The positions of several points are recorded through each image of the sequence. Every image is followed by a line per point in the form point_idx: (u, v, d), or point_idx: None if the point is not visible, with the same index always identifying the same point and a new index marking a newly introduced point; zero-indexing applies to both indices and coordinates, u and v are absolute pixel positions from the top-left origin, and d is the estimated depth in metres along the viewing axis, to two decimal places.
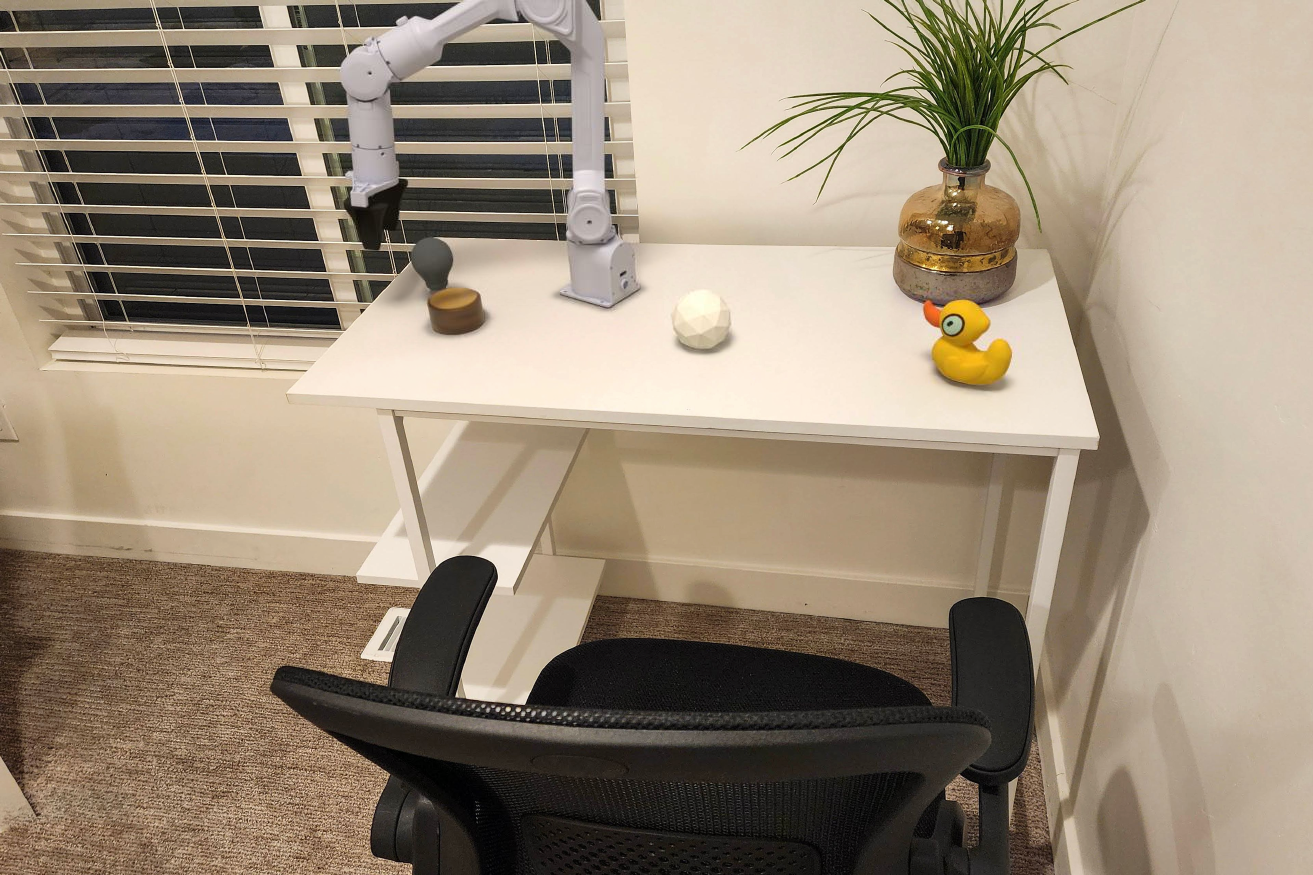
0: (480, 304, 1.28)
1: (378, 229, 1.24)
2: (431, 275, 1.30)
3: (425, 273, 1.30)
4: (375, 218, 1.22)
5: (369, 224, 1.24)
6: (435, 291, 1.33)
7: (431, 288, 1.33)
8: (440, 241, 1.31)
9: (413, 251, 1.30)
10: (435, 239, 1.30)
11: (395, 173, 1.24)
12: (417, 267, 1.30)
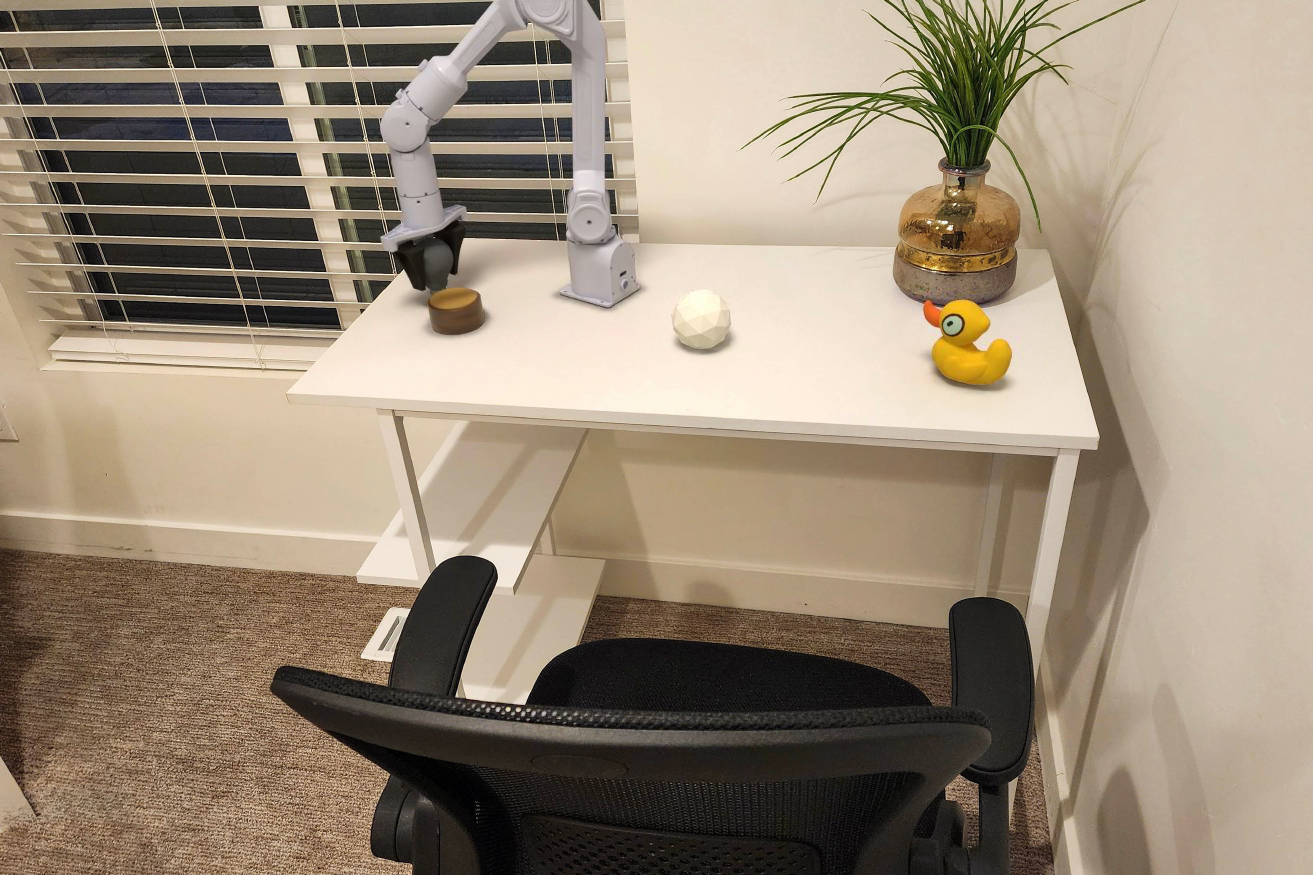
0: (480, 304, 1.28)
1: (417, 271, 1.29)
2: (431, 275, 1.30)
3: (425, 273, 1.30)
4: (410, 261, 1.27)
5: (412, 266, 1.29)
6: (435, 291, 1.33)
7: (431, 288, 1.33)
8: (440, 241, 1.31)
9: None
10: (435, 239, 1.30)
11: (437, 220, 1.27)
12: None
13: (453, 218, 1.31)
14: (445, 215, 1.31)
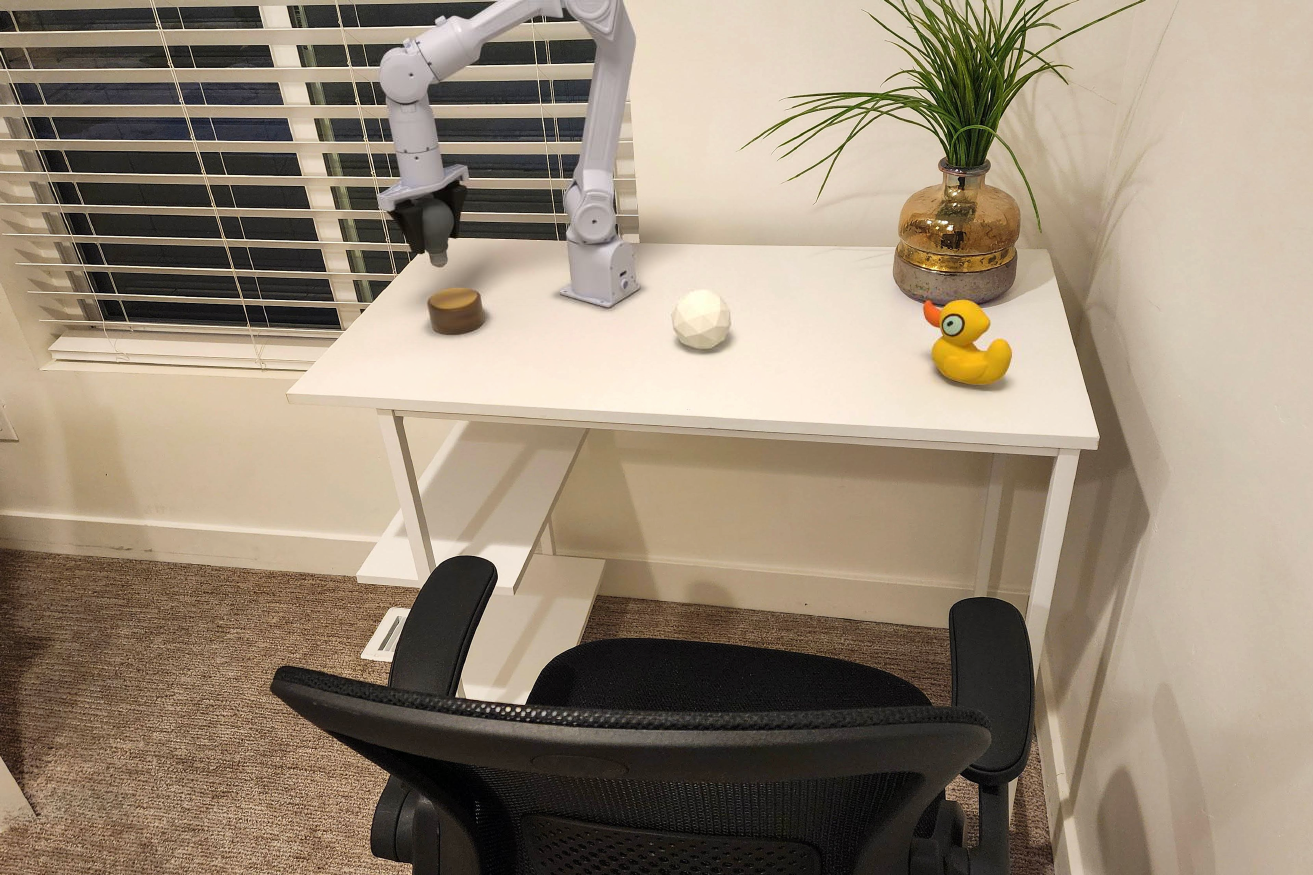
0: (480, 304, 1.28)
1: (415, 233, 1.22)
2: (430, 237, 1.24)
3: (424, 235, 1.24)
4: (408, 221, 1.20)
5: (410, 227, 1.23)
6: (435, 255, 1.27)
7: (430, 252, 1.26)
8: (440, 201, 1.24)
9: None
10: (435, 199, 1.24)
11: (436, 178, 1.20)
12: None
13: (454, 177, 1.24)
14: (445, 174, 1.25)
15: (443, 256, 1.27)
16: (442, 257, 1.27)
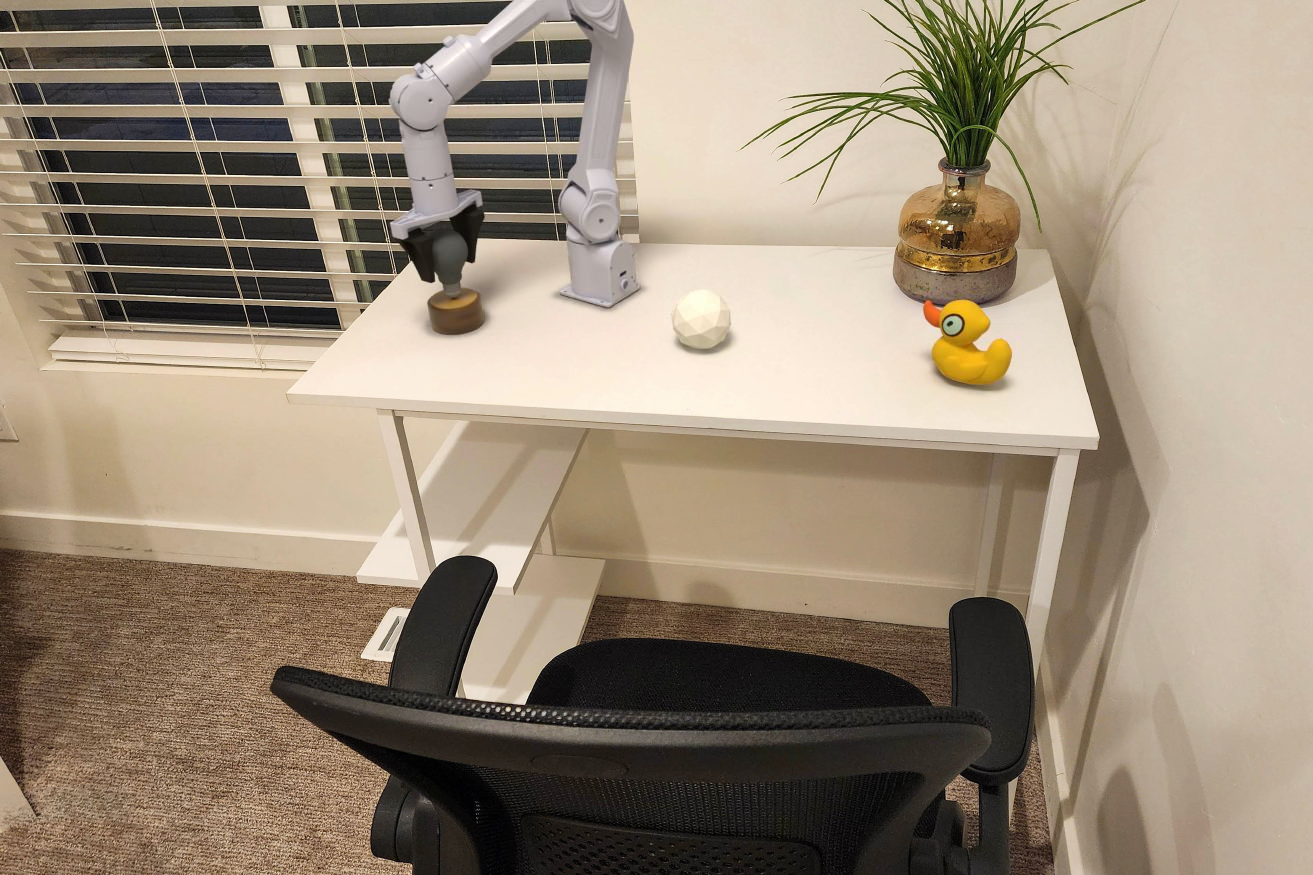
0: (480, 304, 1.28)
1: (425, 262, 1.19)
2: (444, 268, 1.22)
3: (438, 267, 1.22)
4: (419, 251, 1.18)
5: (420, 256, 1.20)
6: (448, 286, 1.25)
7: (444, 282, 1.25)
8: (454, 232, 1.22)
9: None
10: (449, 230, 1.22)
11: (450, 205, 1.18)
12: None
13: (467, 203, 1.22)
14: (459, 200, 1.23)
15: (457, 286, 1.26)
16: (456, 288, 1.26)
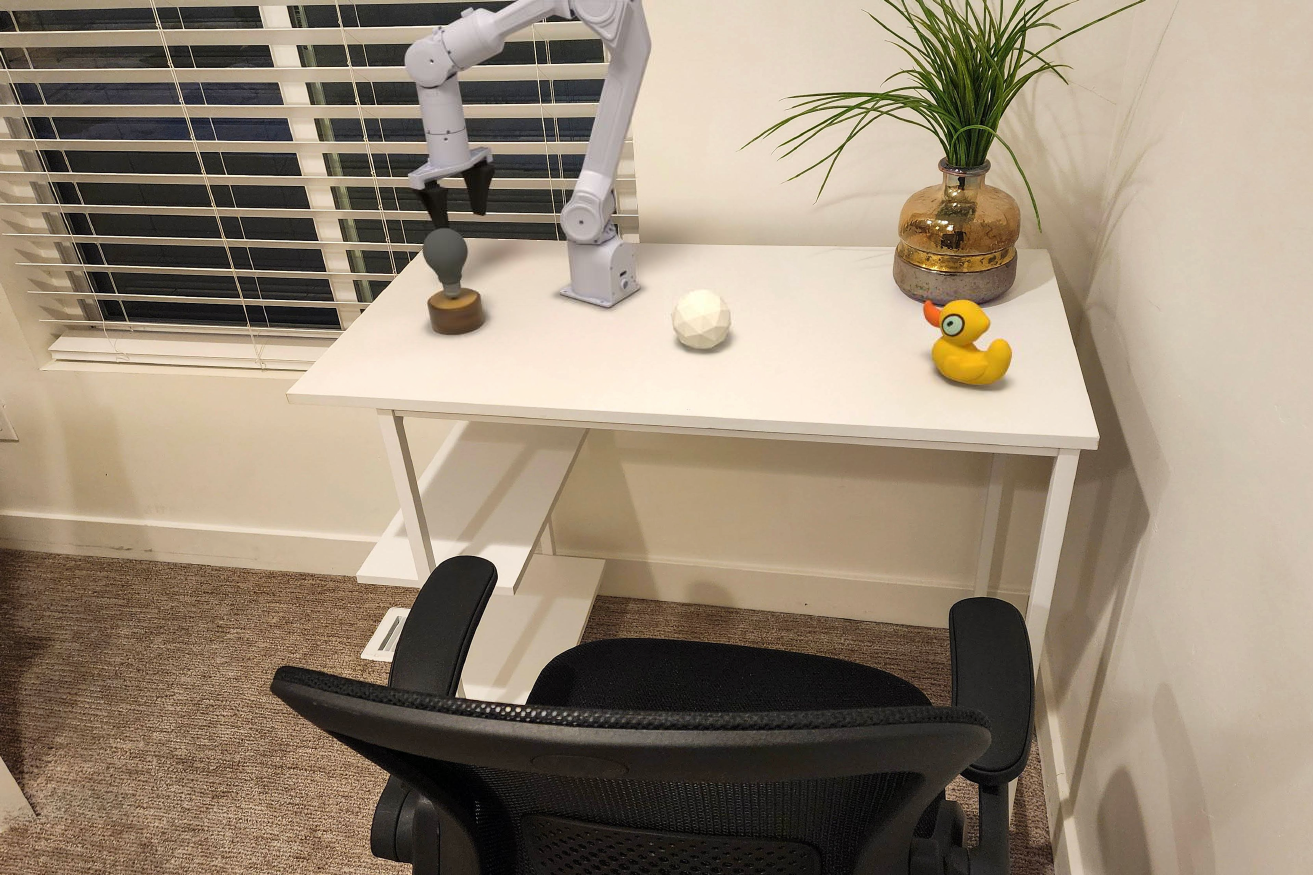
0: (480, 304, 1.28)
1: (440, 212, 1.28)
2: (444, 268, 1.22)
3: (438, 267, 1.22)
4: (434, 201, 1.27)
5: (436, 207, 1.29)
6: (448, 286, 1.25)
7: (444, 282, 1.25)
8: (454, 232, 1.22)
9: (425, 243, 1.22)
10: (449, 230, 1.22)
11: (464, 159, 1.27)
12: (430, 260, 1.22)
13: (479, 158, 1.31)
14: (471, 155, 1.31)
15: (457, 286, 1.26)
16: (456, 288, 1.26)
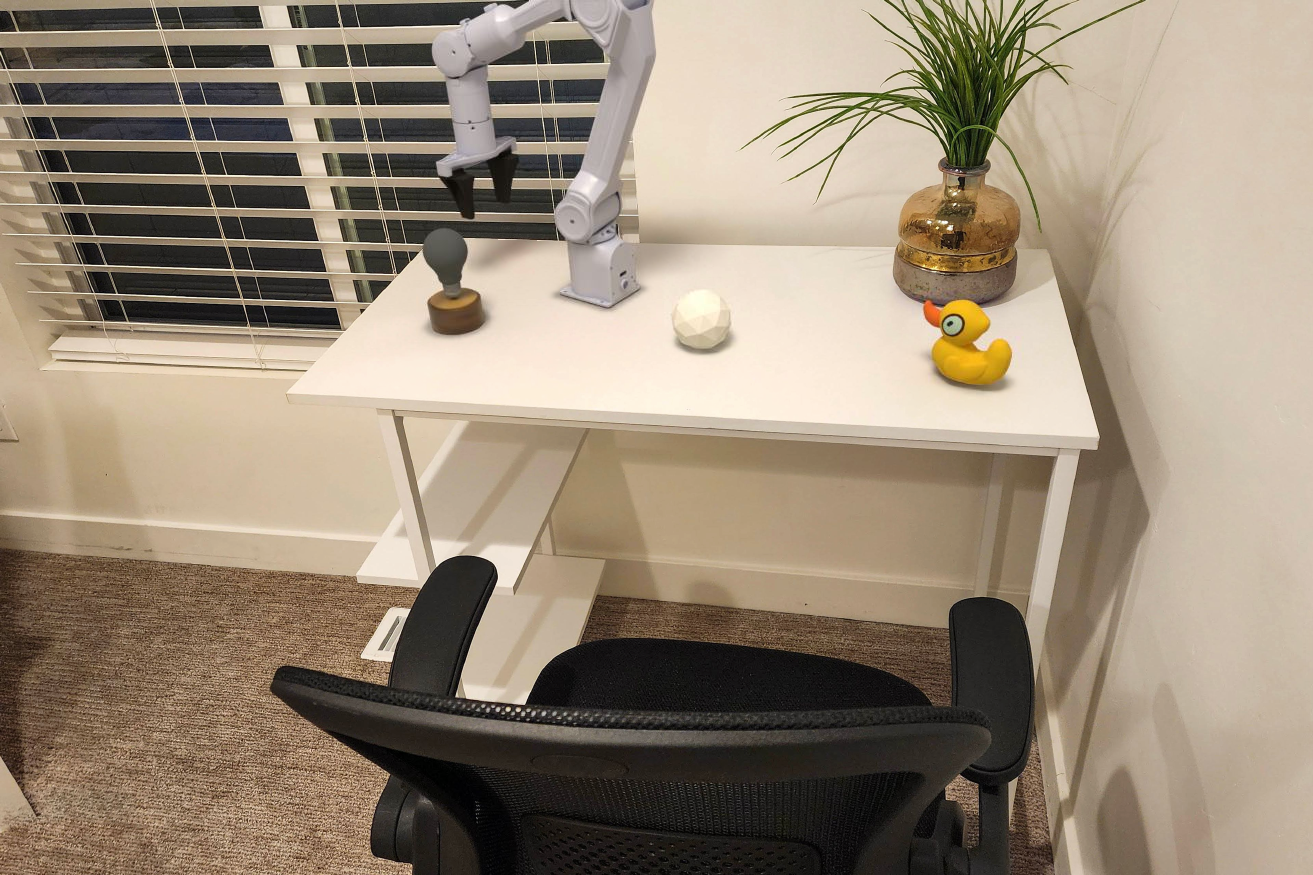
0: (480, 304, 1.28)
1: (467, 199, 1.32)
2: (444, 268, 1.22)
3: (438, 267, 1.22)
4: (461, 188, 1.31)
5: (462, 194, 1.33)
6: (448, 286, 1.25)
7: (444, 282, 1.25)
8: (454, 232, 1.22)
9: (425, 243, 1.22)
10: (449, 230, 1.22)
11: (490, 147, 1.31)
12: (430, 260, 1.22)
13: (504, 147, 1.35)
14: (496, 145, 1.35)
15: (457, 286, 1.26)
16: (456, 288, 1.26)
